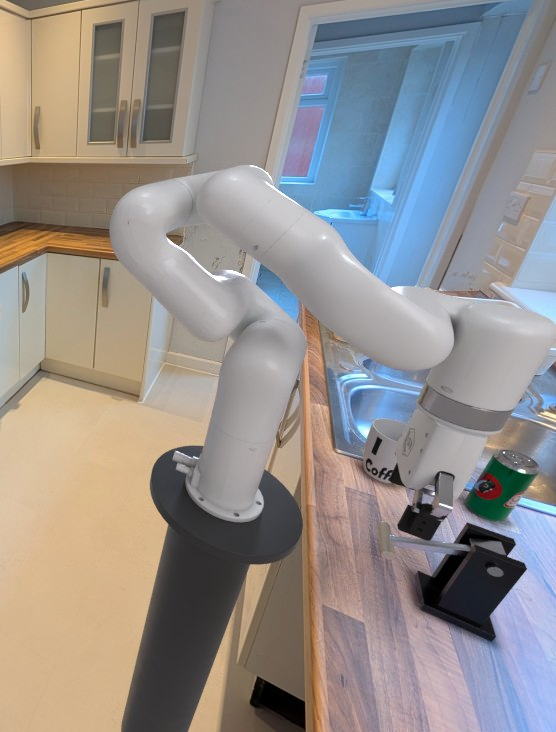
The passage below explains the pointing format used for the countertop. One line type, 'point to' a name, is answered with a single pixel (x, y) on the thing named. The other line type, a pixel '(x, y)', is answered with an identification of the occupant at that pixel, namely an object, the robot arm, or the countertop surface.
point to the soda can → (501, 485)
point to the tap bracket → (470, 583)
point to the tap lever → (429, 544)
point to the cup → (382, 448)
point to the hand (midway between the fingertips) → (407, 508)
